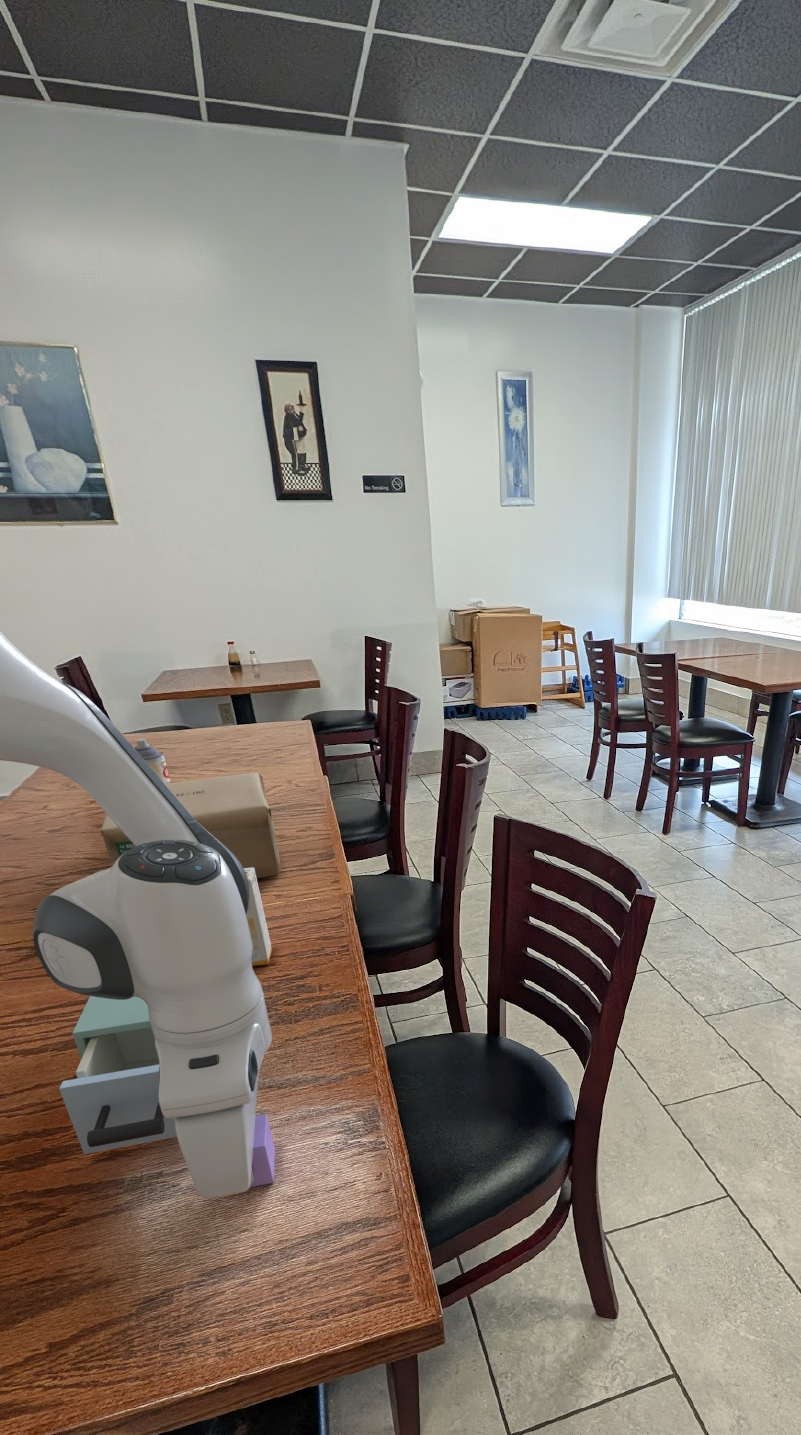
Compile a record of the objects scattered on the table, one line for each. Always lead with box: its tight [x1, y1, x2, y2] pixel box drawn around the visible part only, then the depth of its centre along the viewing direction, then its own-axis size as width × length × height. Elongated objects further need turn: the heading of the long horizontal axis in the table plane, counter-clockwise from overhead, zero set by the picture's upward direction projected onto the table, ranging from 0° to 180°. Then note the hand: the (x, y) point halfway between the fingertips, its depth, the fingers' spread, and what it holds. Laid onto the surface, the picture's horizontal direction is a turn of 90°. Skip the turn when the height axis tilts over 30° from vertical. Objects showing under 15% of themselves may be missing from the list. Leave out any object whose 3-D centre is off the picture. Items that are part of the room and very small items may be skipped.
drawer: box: [59, 1027, 177, 1155], centre depth 74 cm, size 18×11×8 cm, turn 15°
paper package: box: [100, 771, 282, 880], centre depth 136 cm, size 27×26×14 cm
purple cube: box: [249, 1113, 276, 1189], centre depth 69 cm, size 4×4×4 cm
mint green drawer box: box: [71, 996, 151, 1060], centre depth 84 cm, size 15×13×10 cm
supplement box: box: [244, 868, 273, 967], centre depth 104 cm, size 8×5×13 cm, turn 100°
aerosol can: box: [133, 738, 171, 784], centre depth 152 cm, size 7×7×20 cm
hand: (246, 1157), depth 69 cm, fingers closed on purple cube, 4 cm apart
